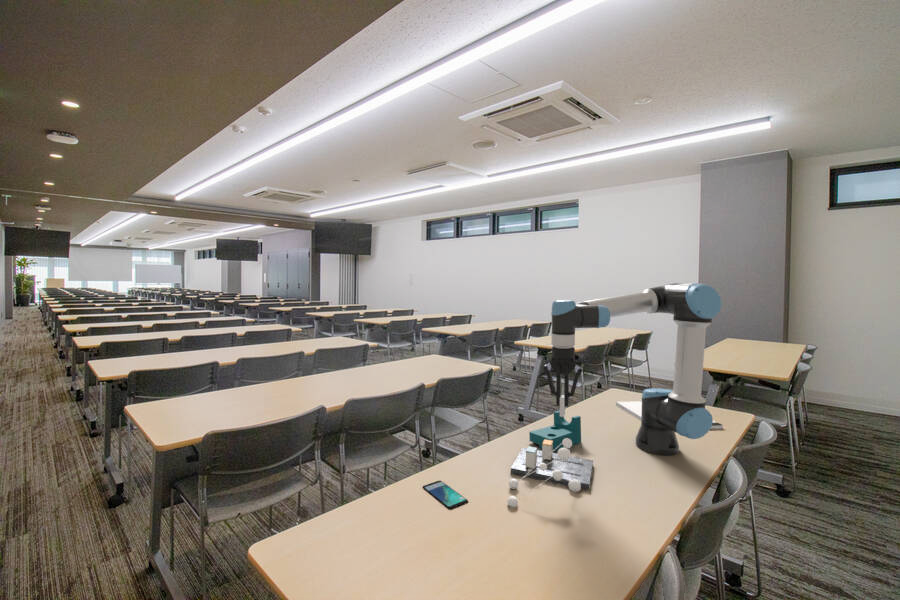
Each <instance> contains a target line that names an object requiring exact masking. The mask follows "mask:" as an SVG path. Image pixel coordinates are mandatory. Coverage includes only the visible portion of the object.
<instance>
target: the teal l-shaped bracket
mask: <svg viewBox="0 0 900 600" xmlns="http://www.w3.org/2000/svg"><path fill="white" fill-rule="evenodd" d="M581 419H582V418H581V416H580V415H575V416H572V417H571V420H570V422H569V421H567V420H566V419H565V416H564V417H560V410H557V411H553V425H550V426H546V427H542V428H539V429H535V430H532V431H529V442H531V443H533V444H534V443H535V444H537V445H538V446H539V449H540V450H542V443H543V441H544V439H545V440H551V441H553V450H554V449H555V450H554V451H553V453H555V452H558V450H559V449H560V448H564V446H563V444H561V443H562V442H563V440H564V439H565V438H569V439H570V440H571V441H572V446H574V445H578V444H580V443H582V421H581ZM560 444H561V445H560ZM559 445H560V446H559ZM558 446H559V447H558ZM557 447H558V448H557Z"/></svg>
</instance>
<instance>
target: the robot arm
mask: <svg viewBox="0 0 900 600" xmlns="http://www.w3.org/2000/svg"><path fill="white" fill-rule="evenodd" d="M722 305H723V304H722V299H721V295H720V293H719V292H718V291H717V290H716V288H714V287H713V286H712V285H709V284H704V283H699V282H697V283H680V282H679V283H676V282H675V283H674V282H673V283H669V284H668V283H667V284H664V285H659V286H656V287H655V286H654V287H651V288H645V289H643V290H642V291H641V292H635V293H628V294H623V295H618V296H617V295H615V296H610V297H609V296H608V297H604V298H598V299H591V300H585V301H579V302H576V301H574V300H573V299H556V300H554V301H552V305H551V313H550V315H551V345H552V346H551V351H550V352H551V357H550V358H551V359H550V361H549V363H547V364H544V365H543V370H544V372H545V374H546V378H547V381H548V387H549V390H550V394H551V395H554V396H556V397H555V398H556V401H555V402H556V406H558V407H559V411H560V417H564V418H565V416H566V408H568V407H569V401H570V400H569V399H570V397H574V395H575V393H576V388H577V384H578V381H579V378H580V375H581V374H582V372H583V370H584V368H583V367H581V366H579V365H578V364H577V362H576V359H575V357H576V356H575V355H576V353H575V352H576V351H575V345H576V329H593V328H595V329H599V328H607V327H608V325H609V324H610V322H611V318H615V317H621V316H622V317H623V316H627V315H629V316H630V315H635V314H641V313H646V314H650V315H651V314H657V313H658V314H659V313H660V314H661V313H662V314H668V315H669V314H670V315H673V318H672V319H673V322H674V323H675V325H677V329H676V330H677V332H676V342H675V343H676V345H675V346H676V347H675V358H674V360H675V361H674V371H673V372H674V374H673V387H672V388H673V389H668V388H659V387H657V388H655V387H652V388H645V389H644V390H643V391H642V395H641V401H642V415H641V420H640V423H641V424H640V427H639V430H638V432H637V434H636V436H635V445H636V447H637V448H639V449H640V450H643V451H645V452H647V453H650V454H655V455H659V456H674V455H677V454H679V449H680V445H679V442H678V438H677V435H676V433H677V434H678V435H679V436H682V437H685V438H687V439H691V440H697V439H698V440H699V439H700V438H704V437H705V435H706V434H709V432H710V430H712V429H711V426H712V423H713V421H714V419H713V416H712V414H711V412H709V411H710V410H708V409H707V408H706V404H707V403H706V401H707V400H706V399H705V397H703V396H702V384H703V375H704V374H703V372H704V362H705V361H704V358H705V349H706V348H705V347H706V331H707V327H708V326H710V325H711V324H712V320H713V318H715V317H716V316H718V313H720V311H721V309H722ZM551 369H553V371H554V372H555V373H556V374H555V376H556V387H555V383H554V379H553V378H554V377H553V374H552V371H551ZM573 370H574V372H575V375H574V378H573V381H572V385H571V388H570V374H571V372H573ZM562 374H563V375H564V379H563V380H564V381H563V382H564V384H563V386H564V387H563V389H564V392H563V395H562ZM570 389H571V390H570ZM569 390H570V391H569Z"/></svg>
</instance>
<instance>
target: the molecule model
mask: <svg viewBox="0 0 900 600" xmlns="http://www.w3.org/2000/svg"><path fill="white" fill-rule="evenodd" d="M561 444H563V446H564V448H560V449H559V450H557V454H558V457H559V458H557V459H560V462H561V460H562V461H566V463H567V460H569V459H570V458H571V456H572V455H571V451H570V448H571V447H572V446H573V445H572V441H571V440H570V439H569V438H565V439H564V440H563V442H562V443H561ZM561 444H560V445H561ZM560 445H559V446H560ZM559 446H558V447H559ZM558 447H557V448H558ZM554 450H555V449H554ZM554 450H553V451H554ZM553 451H552V452H553ZM552 452H551V453H552ZM554 452H555V451H554ZM554 452H553V453H554ZM551 453H550V454H551ZM550 454H549V455H550ZM545 458H546V457H545ZM545 458H544V459H545ZM544 459H543V460H544ZM557 459H556V460H557ZM543 460H542V461H543ZM542 461H541V462H542ZM554 461H555V460H554ZM552 462H553V461H552ZM550 463H551V462H550ZM571 463H572V460H571ZM548 464H549V463H548ZM548 464H547V465H548ZM537 465H538V464H537ZM537 465H536V466H537ZM547 465H546V464H545V463H541V464H540V466H539V467H540V468H539V469H541V470H542V471H545V470H546V469H547ZM567 465H568V464H567ZM536 466H535V467H536ZM559 466H560V464H559ZM535 467H534V468H535ZM534 468H533V469H534ZM568 468H569V467H568ZM533 469H532V470H533ZM539 469H537V470H539ZM558 469H559V467H558ZM572 469H573V466H572ZM537 470H536V471H537ZM569 471H570V470H569ZM529 472H530V471H529ZM529 472H528V473H529ZM534 472H535V471H534ZM528 473H527V474H528ZM532 473H533V472H532ZM527 474H526V475H527ZM530 474H531V473H530ZM570 474H571V472H570ZM573 474H574V471H573ZM526 475H525V476H524V477H523V476H522V477H521V478H519V479H517V478H516V479H515V478H511V479H509V480H508V485H509V487H510V489H511V490H516V489H518V487H519V482H520V481H522V480H523V479H524V478H527V477H526ZM528 475H529V474H528ZM528 475H527V476H528ZM552 475H553V478H554V479H555V480H557V481H559V480H561V479H564V478H563V474H562V472H561V471H560V470H554V471H553V474H552ZM551 477H552V476H551ZM551 477H550V478H551ZM571 477H572V475H571ZM548 479H549V478H548ZM548 479H547V480H548ZM565 480H566V479H565ZM568 481H569V480H568ZM545 482H547V481H546V480H545V481H542V482H541V483H540V484H538V485H537V486H535V487H534V488H533V489H531V490H529V491H528V492H526V493H524V495H522V496H521V497H519V498H517V497H516V496H514V495H512V496H509V497H508V498H507V505H508V506H509V507H510V508H517V506H518V505H519V504H518V503H519V500H520V499H522V498H523V497H525V496H526V495H528V494H529V493H531V492H532V491H533V490H535V489H536V488H538V487H539V486H540V485H543V483H545ZM567 487H568V488H569V490H570V491H571V492H573V493H578V492H579V491H580V490H582V489H581V484H580V482H579V481H578V480H576V479H575V477H574V479H573V478H572V480H570V481H569V484H568V486H567Z"/></svg>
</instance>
